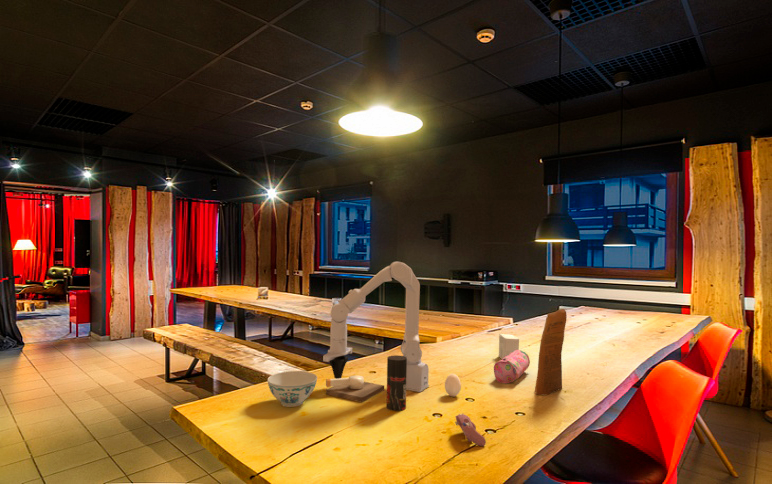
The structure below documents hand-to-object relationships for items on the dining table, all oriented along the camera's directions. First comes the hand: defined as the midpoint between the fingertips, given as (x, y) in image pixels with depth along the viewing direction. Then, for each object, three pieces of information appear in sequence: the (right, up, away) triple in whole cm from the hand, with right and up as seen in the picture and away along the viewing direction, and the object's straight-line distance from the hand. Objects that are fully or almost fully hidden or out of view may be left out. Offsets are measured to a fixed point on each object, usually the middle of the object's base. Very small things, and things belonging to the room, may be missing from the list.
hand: (337, 378), depth 149 cm
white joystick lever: (+3, -1, -6) cm, 7 cm away
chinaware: (-12, -3, -16) cm, 20 cm away
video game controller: (+38, -4, -39) cm, 54 cm away
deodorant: (+20, -3, -18) cm, 27 cm away
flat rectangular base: (+7, -3, -5) cm, 9 cm away
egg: (+39, -4, -7) cm, 39 cm away
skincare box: (+71, -6, +43) cm, 83 cm away
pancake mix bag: (+74, -5, +1) cm, 74 cm away
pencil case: (+65, -5, +16) cm, 67 cm away
